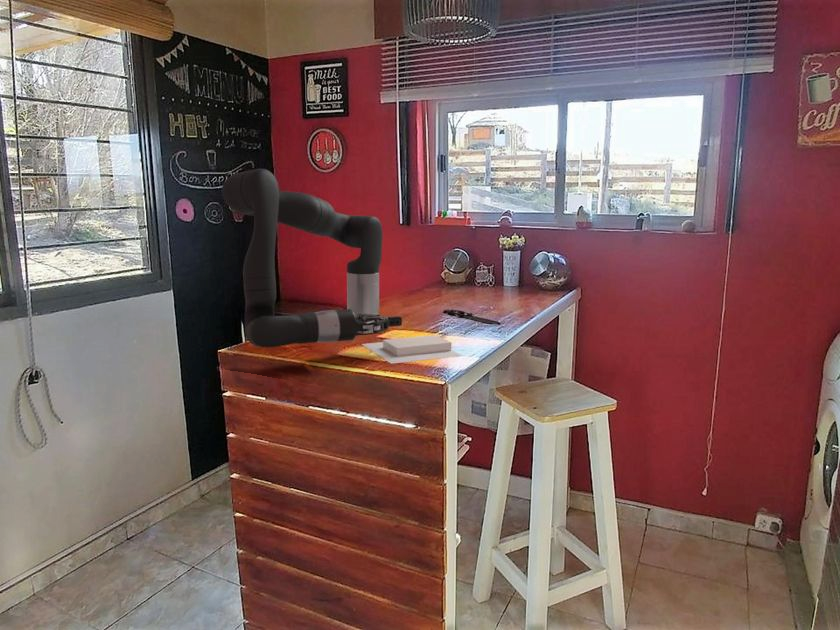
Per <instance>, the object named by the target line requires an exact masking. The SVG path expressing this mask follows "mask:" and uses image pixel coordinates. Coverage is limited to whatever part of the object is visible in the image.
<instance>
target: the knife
mask: <svg viewBox="0 0 840 630" xmlns="http://www.w3.org/2000/svg"><path fill="white" fill-rule="evenodd" d="M442 313H443V314H447V315H449V316H452V317H455V316H457V318H460V319H461V318H462V319H465V318H466V319H469V320H474V321H478V322H483V323H487V324H499V325H501V322H499V321H498V320H494V319H489V318H484V317H480V316H474V315H473V314H474V313H473V312H466V311H463V310H457V309H452V308H451V309H444V310H443V311H442Z"/></svg>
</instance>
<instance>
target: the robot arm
mask: <svg viewBox="0 0 840 630" xmlns="http://www.w3.org/2000/svg"><path fill="white" fill-rule="evenodd" d="M221 194H222V197H223V201H224V202H225V203H226V205H227V206H228V207H229V208H230V209H232V211H234V212H236V213H238V214H242V215H246V216H252V217H254V221H253V222H254V223H253V232H252V237H251V239H250V243H249V246H248V249H247V252H246V254H245V258H244V261H243V269H242V279H243V280H242V281H243V291H244V292H243V294H244V300H245V301H244V302H245V307H244V333H245V336H246V339H247V340H248V342H249V343H250V344H251V345H253V346H255V347H259V348H264V349H265V348H266V349H267V348H274V347H275V348H277V347H283V346H289V345H294V344H296V345H298V344H302V345H303V344H312V343H325V344H326V343H336V342H337V343H338V342H349V341H353V340H354V339H355V338H356V336H357V334H358V335H359V334H360V335H361V334H362V335H366V334H367V335H368V334H375V335H376V334H379V333H382V332H385V331H387V330H389V327H399V326H402V324H403V318H402V316H399V315H395V316H393V315H392V316H385V315H380V265H381V262H382V253H383V252H382V251H383V235H384V234H383V227H382V226H383V225H382V222H381V221H380V219H379V218H378V217H376V216H372V215H352V214H350V215H348V214H344V213H340V212H337V211H335V209H334V207H333V206H332V205H331V204H330V203H329V202H328V201H326V200H324V199H323V198H319V197H318V196H315V195H312V194H309V193H304V192H298V191H289V190H288V191H285V190H280V187H279V183H278V180H277V179H276V177H275V175H274V174H273V173H272V172H271V171H270V170H268V169H266V168H255V169H250V170H246V171H242V172H237V173H235V174H233V175H231V176H229V177H228V178H226V179H225V180H224V182H223V185H222V188H221ZM278 223H279V224H282V225H283V226H284V225H286V226H288V227H291V228H294V229H297V230H299V231H302V232H305V233H308V234H311V235H316V236H321V237H327V238H331V239H332V240H334V241H336V242H338V243H341V244H343V245H345V246H346V247H349V248H354V249H360V252H359V256H358V257H357V258H355V259H353V260H349V261H348V262H347V264H346V295H347V296H346V306H347V307H346V308H345V309H330V310H329V309H328V310H320V311H316V312H302V313H295V314H292V315H275V303H276V300H277V281H276V267H275V266H276V264H275V262H276V261H275V260H276V259H275V255H276V254H275V253H276V241H277V240H276V239H277V229H278Z"/></svg>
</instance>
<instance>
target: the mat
mask: <svg viewBox="0 0 840 630" xmlns="http://www.w3.org/2000/svg"><path fill="white" fill-rule="evenodd" d="M361 345H362V347H365V348H366V349H368V350H370V351H371V352H372V353H374V354H376V355H377V356H378V357H381V358H382V359H383V360H385V362H387V363H389V364H392V365H393V364H400V363H401V364H402V363H410V362H419V361H420V362H421V361H428V360H437V359H439V360H440V359H446V358H456V357H463V355H462V354H460V353H458V352H456V351H454V350H452V349H451V350H449V351H440V352H430V353H421V354H411V355H402V356H396V355H394V354H393V353H391V352H389V351H388V350H386V349H385V348H383V341H381V342H371V343H370V342H369V343H361Z"/></svg>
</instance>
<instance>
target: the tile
mask: <svg viewBox="0 0 840 630" xmlns="http://www.w3.org/2000/svg"><path fill="white" fill-rule="evenodd" d="M382 342H383V348H385V349H386V350H388V351H389V352H391V353H393V354H394V355H396V356H402V355H411V354H421V353H430V352H440V351H449V350H452V342H451V341H449V340H447V339H445V338H443V337H440V336H439V335H436V334H434V335H433V334H432V335H420V336H411V337H401V338H400V337H399V338H390V339H389V338H387V339H383V340H382Z"/></svg>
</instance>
